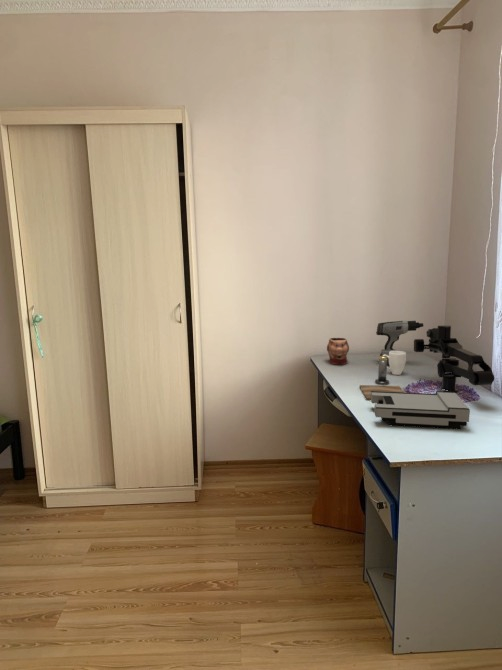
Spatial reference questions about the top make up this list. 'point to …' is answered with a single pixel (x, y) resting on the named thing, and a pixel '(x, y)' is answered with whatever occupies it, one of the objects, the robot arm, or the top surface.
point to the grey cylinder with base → (382, 371)
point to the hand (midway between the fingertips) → (425, 343)
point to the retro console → (421, 409)
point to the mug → (396, 361)
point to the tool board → (378, 389)
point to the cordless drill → (395, 333)
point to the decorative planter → (338, 350)
